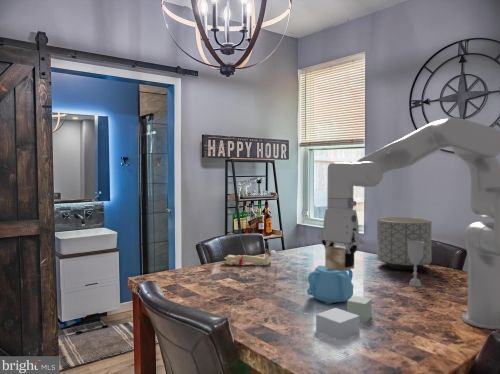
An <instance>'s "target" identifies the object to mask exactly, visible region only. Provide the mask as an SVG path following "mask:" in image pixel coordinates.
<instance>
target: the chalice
mask: <svg viewBox="0 0 500 374" xmlns="http://www.w3.org/2000/svg"><path fill="white" fill-rule="evenodd" d="M407 243H408V255H409V258H410V260H411V262H412V263H413V264H414V268H413V272H412V273H413V278H411V279H410V281H409V283H408V285H409V286H412V287H422V285H423V284H422V283H421V280H420V279H419V278H417V275H418V272H417V271H418V268H417V267H416V266H417V264H419V262H420V260H421V259H422V256H423V244H424V242H422V241H407Z"/></svg>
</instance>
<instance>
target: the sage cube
mask: <svg viewBox="0 0 500 374" xmlns="http://www.w3.org/2000/svg"><path fill="white" fill-rule="evenodd" d="M372 303H373V299H372V298H369V297H368V298H367V297H364V296H363V297H362V296H357V295H352V297H351V298H350V299H349V300H347V303H346V307H347V308H346V310H347V312H350V313H353V314H356V315H359V316H360V323H361V322H362V323H367V322H368V321H369V320H370V319H371V318H372V315H373V313H372V311H373V310H372V309H373V307H372Z"/></svg>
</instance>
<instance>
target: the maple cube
mask: <svg viewBox="0 0 500 374" xmlns="http://www.w3.org/2000/svg"><path fill="white" fill-rule="evenodd" d="M324 251H325V252H324V253H325V255H324V257H325V258H324V263H325V264H324V266H325V268H329V269H333V270H338V271H346V270H353V269H355V262H354V263H353V266H352V267H348V268H347V267H345V254H346V253H347V251H346V248H345V245H343V246H342V245H334V246H332V247H326V248H325V247H324Z"/></svg>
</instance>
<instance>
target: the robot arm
mask: <svg viewBox="0 0 500 374" xmlns="http://www.w3.org/2000/svg"><path fill="white" fill-rule="evenodd" d="M446 148H452V151H453V153H454V154H455V155H456V156H457V157H458V158H460V159H461V160H462V161H463V162H464V163H465V164H466V166H467V167H468V169H469V175H470V199H469V200H470V201H469V202H470V209H471V211H472V212H473V213H474V214H475V215H477V216H478V217H482V218H489V219H493V221H486V220H479V221H475V222H472V223H471V224H469V225H468V226H467V228H466V230H465V233H464V243H465V247H466V255H467V308H466V309H467V311H466V312H464V313H461V320H462V321H464V322H465V324H468V325H471V326H474V327H477V328H481V329H487V330H500V161H499V159H498V155H500V130H498V129H496V128H495V127H493V126H488V125H486V124H482V123H481V124H480V123H478V122H476V121H472V120H468V119H464V118H460V117H447V118H443V119H439V120H435V121H432V122H430V123H428V124H426V125H424V126H422V127H420V128H418V129H417V130H415V131H413V132H411V133H409V134H407V135H405V136H403V137H402V138H399V139H398V140H396V141H394V142H392V143H389V144H387V145H385V146H383V147H381V148H380V149H377V150H375V151H373V152H371V153H369V154H367V155H365V156H363V157H361V158H359V159H357V160H355V161H353V162H352V163H351V162H344V161H343V162H340V161H339V162H338V161H337V162H330V163H329V164H328V166H327V187H326V188H327V189H326V190H327V192H326V193H327V194H326V195H327V203H326V204H327V205H326V208H325V211H324V218H323V227H322V229H323V230H322V231H321V232H320V234H319V235H318V239H319V240H320V241H321V243H322V245H323V246H324V249H325V248H326V247H332V246H336V245H335V244H336V243H338V244H344V245H343V246H345V248H346V251H347V253H346V254H345V267H347V268H348V267H352V266H353V263H354V264H355V253H356V251H357V250H359V249H360V247H361V246H362V245H363V244H364V241H363V239H362V238H361V236H360V230H359V229H360V228H359V220H358V214H357V209H356V208H354V207H355V206H357V201H355V199H354V187H359V188H360V187H362V188H373V187H376V186H378V185H379V184H380V183H381V182H382V180H383V179H384V174H385V173H387V172H388V173H389V172H390V171H393V170H398V169H404V168H407V167H409V166H412V165H414V164H417V163H419V162H420V161H423V159H425V158H427V157H429V156H431V155H432V154H435V153H437V152H439V151H440V150H443V149H446Z"/></svg>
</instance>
